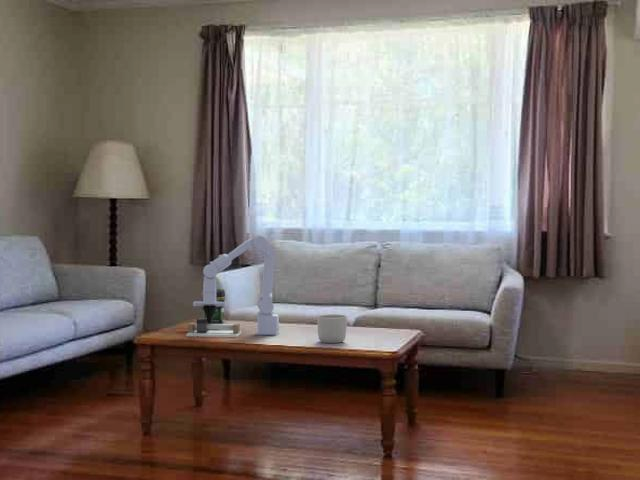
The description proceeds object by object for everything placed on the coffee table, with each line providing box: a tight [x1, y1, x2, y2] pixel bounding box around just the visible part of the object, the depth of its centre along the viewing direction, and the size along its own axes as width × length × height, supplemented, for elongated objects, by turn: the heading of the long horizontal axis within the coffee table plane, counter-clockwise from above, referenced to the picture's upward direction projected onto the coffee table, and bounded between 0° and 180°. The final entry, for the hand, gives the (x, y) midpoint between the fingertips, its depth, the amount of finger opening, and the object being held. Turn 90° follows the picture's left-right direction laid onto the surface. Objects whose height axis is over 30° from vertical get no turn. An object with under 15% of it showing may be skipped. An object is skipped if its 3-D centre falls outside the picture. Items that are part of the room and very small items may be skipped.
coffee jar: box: [203, 288, 226, 324], centre depth 371 cm, size 10×8×19 cm
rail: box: [185, 322, 242, 338], centre depth 352 cm, size 22×12×5 cm, turn 85°
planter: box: [316, 313, 348, 344], centre depth 335 cm, size 12×12×11 cm
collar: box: [196, 317, 210, 333], centre depth 353 cm, size 4×5×6 cm
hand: (209, 322), depth 352 cm, fingers closed
